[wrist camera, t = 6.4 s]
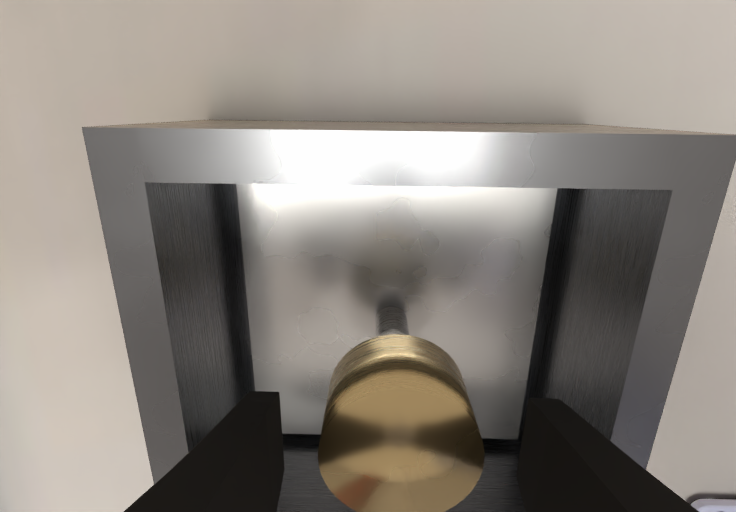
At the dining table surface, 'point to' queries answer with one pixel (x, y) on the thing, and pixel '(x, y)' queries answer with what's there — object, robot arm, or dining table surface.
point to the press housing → (410, 168)
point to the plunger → (395, 327)
